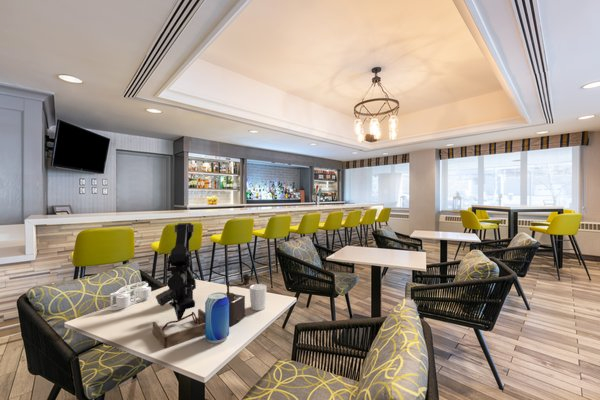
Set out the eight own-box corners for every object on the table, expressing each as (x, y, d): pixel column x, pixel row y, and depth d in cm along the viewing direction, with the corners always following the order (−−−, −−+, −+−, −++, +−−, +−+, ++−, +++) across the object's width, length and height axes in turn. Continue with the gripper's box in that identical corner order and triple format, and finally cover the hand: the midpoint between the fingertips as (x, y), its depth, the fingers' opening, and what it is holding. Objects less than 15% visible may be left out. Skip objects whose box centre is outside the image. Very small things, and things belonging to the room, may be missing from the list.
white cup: (246, 309, 126) (246, 288, 126) (255, 303, 133) (255, 283, 133) (261, 312, 123) (261, 290, 123) (269, 305, 130) (269, 285, 130)
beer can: (216, 347, 94) (216, 301, 94) (200, 340, 99) (200, 296, 99) (233, 336, 101) (233, 294, 101) (218, 330, 106) (218, 290, 106)
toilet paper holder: (117, 312, 123) (117, 296, 123) (102, 308, 128) (102, 292, 128) (156, 297, 142) (156, 283, 142) (141, 294, 146) (141, 280, 146)
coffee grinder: (231, 327, 108) (231, 283, 108) (210, 322, 113) (210, 279, 113) (253, 312, 123) (253, 273, 123) (233, 308, 127) (233, 270, 127)
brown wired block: (199, 318, 117) (199, 308, 117) (215, 330, 106) (215, 320, 106) (152, 332, 104) (152, 322, 104) (164, 348, 94) (164, 336, 94)
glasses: (205, 333, 105) (205, 320, 105) (168, 345, 97) (168, 331, 97) (194, 321, 115) (194, 309, 115) (160, 330, 107) (160, 318, 107)
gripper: (151, 281, 113) (151, 318, 113) (165, 292, 100) (165, 334, 100) (178, 275, 121) (178, 310, 121) (195, 286, 107) (195, 325, 107)
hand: (179, 319), depth 112 cm, fingers closed
